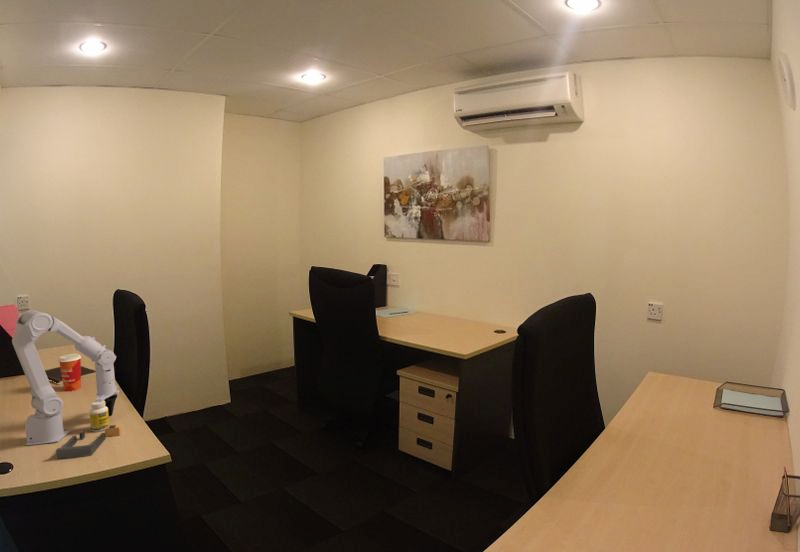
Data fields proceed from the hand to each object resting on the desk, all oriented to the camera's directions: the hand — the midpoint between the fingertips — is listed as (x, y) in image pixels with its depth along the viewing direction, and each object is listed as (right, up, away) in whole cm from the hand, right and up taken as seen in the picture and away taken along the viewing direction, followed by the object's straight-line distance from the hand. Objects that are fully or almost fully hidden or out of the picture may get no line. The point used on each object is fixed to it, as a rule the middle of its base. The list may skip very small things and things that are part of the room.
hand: (108, 415), depth 166 cm
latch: (+10, -3, -12) cm, 16 cm away
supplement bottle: (+2, -3, -7) cm, 8 cm away
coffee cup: (-36, +2, +31) cm, 48 cm away
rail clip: (+5, -4, -20) cm, 21 cm away
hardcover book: (-52, +3, +49) cm, 72 cm away
